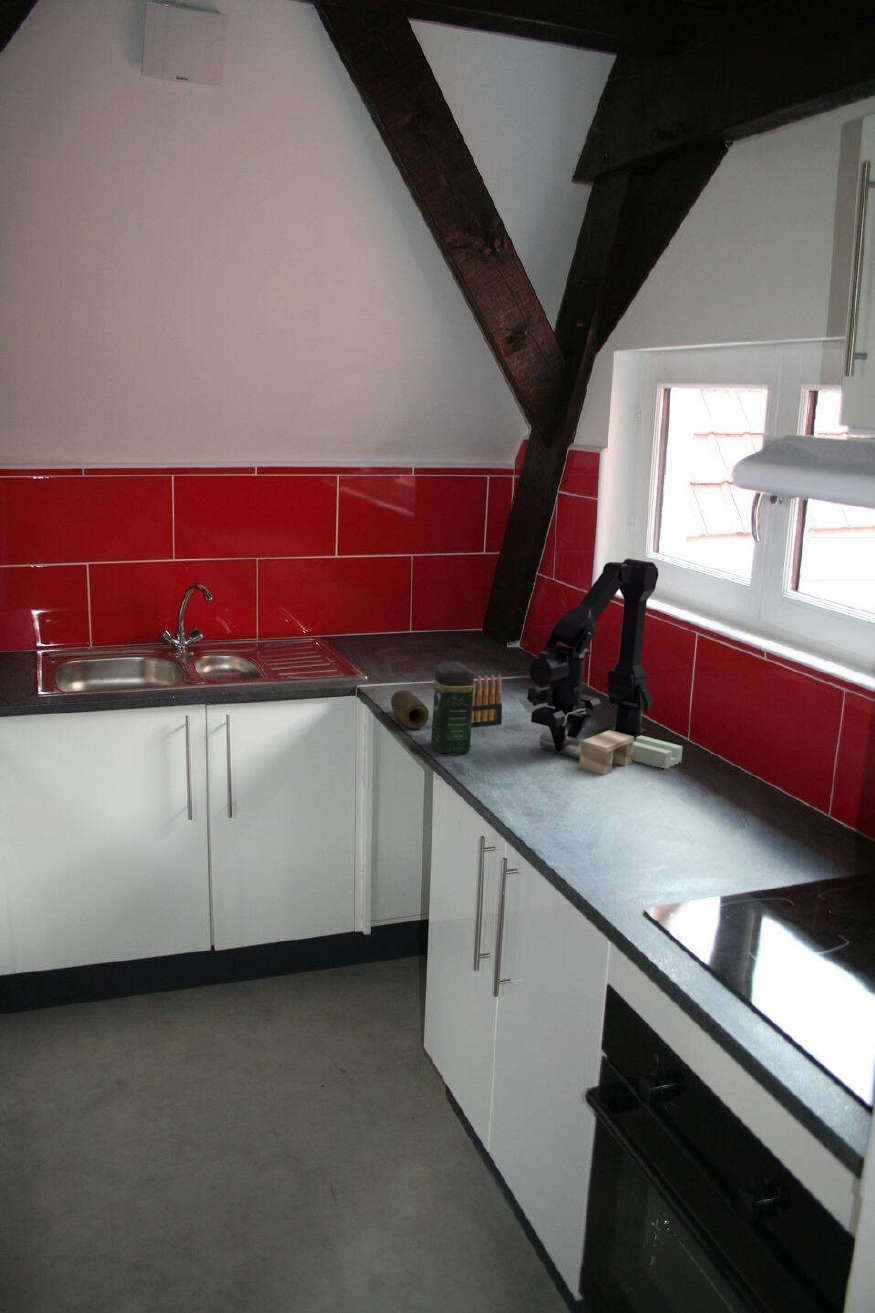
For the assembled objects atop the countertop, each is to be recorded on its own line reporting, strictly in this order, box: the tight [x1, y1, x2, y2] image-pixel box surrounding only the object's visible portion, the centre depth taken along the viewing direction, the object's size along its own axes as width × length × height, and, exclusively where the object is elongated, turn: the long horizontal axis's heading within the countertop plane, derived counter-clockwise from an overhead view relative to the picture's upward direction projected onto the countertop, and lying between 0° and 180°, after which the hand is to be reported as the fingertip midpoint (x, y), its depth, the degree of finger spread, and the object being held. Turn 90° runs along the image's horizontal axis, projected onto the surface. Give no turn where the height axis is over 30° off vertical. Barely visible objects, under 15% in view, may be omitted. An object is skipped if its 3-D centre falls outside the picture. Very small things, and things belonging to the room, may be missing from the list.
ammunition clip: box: [471, 673, 503, 729], centre depth 251 cm, size 11×2×12 cm, turn 117°
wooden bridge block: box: [578, 729, 635, 776], centre depth 228 cm, size 11×6×6 cm, turn 140°
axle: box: [538, 729, 614, 760], centre depth 233 cm, size 16×4×4 cm, turn 51°
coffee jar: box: [430, 661, 475, 755], centre depth 233 cm, size 10×8×19 cm
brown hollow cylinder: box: [390, 690, 430, 730], centre depth 252 cm, size 15×7×7 cm, turn 19°
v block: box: [632, 735, 684, 769], centre depth 233 cm, size 7×10×4 cm
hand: (563, 748), depth 235 cm, fingers closed on axle, 4 cm apart
